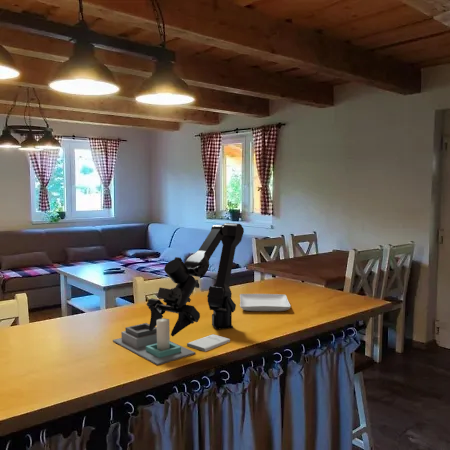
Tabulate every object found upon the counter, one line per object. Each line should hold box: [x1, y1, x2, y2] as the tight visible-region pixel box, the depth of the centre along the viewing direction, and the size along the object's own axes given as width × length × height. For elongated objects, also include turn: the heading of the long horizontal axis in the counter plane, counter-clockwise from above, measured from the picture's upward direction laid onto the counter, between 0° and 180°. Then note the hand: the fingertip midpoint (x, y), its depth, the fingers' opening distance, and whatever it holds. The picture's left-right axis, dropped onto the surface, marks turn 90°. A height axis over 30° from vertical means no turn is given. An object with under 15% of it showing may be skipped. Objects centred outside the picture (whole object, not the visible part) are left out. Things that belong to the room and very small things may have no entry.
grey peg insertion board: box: [112, 322, 196, 366], centre depth 153 cm, size 28×14×5 cm, turn 41°
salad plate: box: [239, 293, 292, 312], centre depth 204 cm, size 21×21×3 cm
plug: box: [156, 317, 171, 351], centre depth 148 cm, size 4×4×10 cm
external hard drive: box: [186, 333, 231, 352], centre depth 156 cm, size 2×8×12 cm
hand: (160, 332), depth 147 cm, fingers open, 9 cm apart
